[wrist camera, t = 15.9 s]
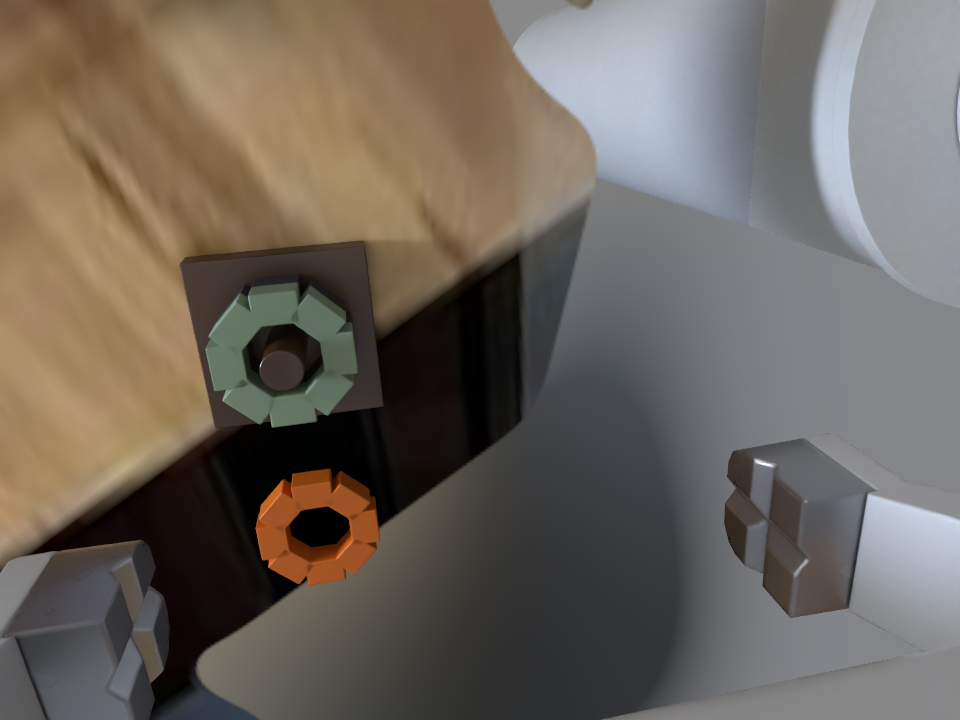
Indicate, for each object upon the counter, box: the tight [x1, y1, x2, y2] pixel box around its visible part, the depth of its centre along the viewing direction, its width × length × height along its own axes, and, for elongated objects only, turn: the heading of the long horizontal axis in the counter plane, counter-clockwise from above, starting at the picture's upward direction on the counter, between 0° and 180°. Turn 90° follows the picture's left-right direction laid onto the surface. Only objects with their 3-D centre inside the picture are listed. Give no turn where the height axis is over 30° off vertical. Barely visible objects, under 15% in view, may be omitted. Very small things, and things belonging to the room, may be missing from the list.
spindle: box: [180, 241, 384, 428], centre depth 35 cm, size 9×9×6 cm
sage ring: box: [206, 282, 358, 427], centre depth 34 cm, size 7×7×2 cm
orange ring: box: [256, 469, 380, 585], centre depth 42 cm, size 7×7×2 cm
